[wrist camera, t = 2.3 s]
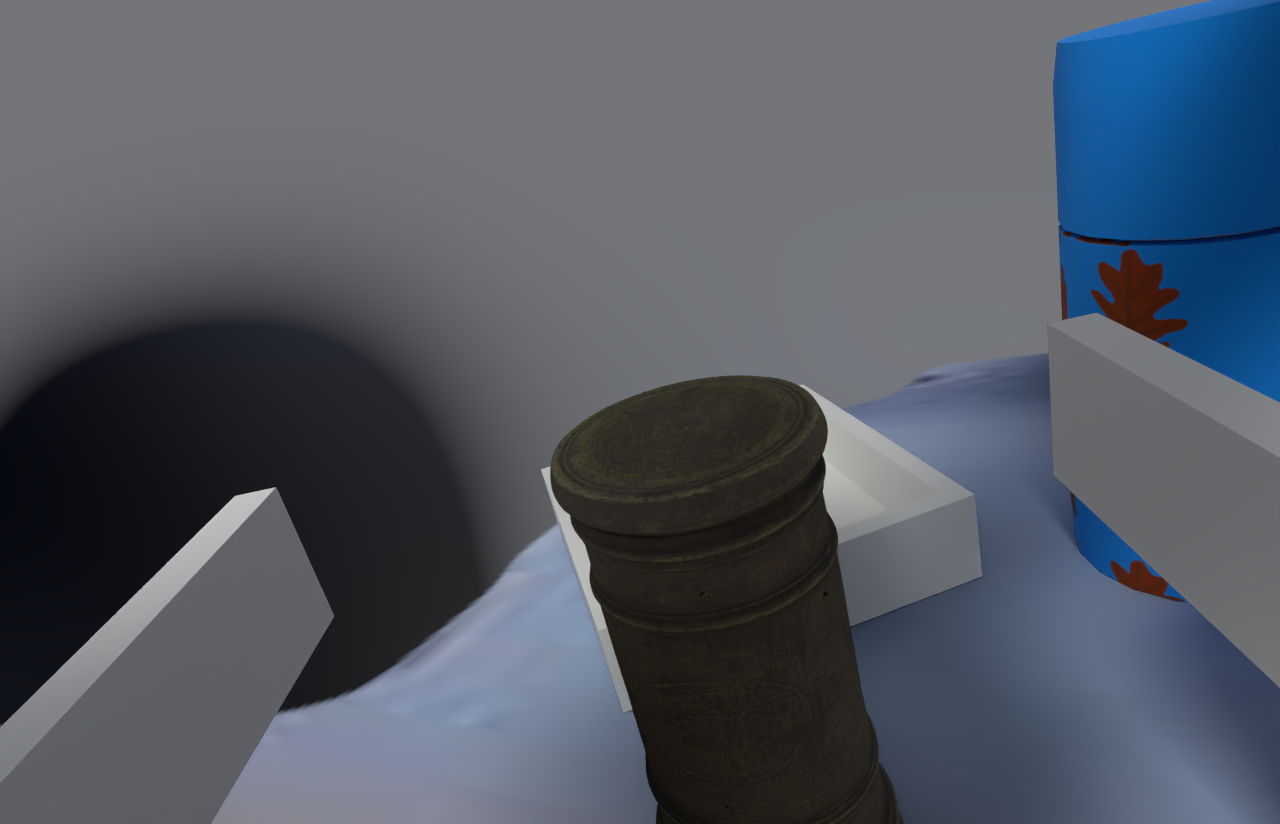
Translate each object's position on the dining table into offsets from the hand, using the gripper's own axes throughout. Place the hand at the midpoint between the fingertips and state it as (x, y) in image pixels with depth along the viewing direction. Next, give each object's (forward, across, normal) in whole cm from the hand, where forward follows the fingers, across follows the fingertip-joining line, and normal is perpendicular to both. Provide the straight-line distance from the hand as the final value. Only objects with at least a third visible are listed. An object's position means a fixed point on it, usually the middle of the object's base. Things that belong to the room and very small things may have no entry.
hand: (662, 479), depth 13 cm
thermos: (+23, +24, -21) cm, 39 cm away
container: (+10, 0, -21) cm, 24 cm away
